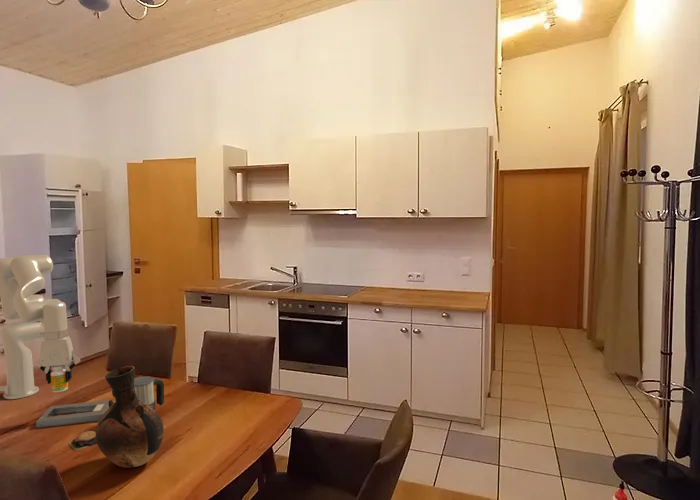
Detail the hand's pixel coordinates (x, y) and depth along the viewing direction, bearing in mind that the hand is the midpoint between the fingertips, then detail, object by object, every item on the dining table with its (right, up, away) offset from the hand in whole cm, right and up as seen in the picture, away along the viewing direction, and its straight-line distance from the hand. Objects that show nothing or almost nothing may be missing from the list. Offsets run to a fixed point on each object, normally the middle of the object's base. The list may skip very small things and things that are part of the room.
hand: (59, 381), depth 174 cm
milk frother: (+29, -14, +3) cm, 33 cm away
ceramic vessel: (+43, -17, -31) cm, 55 cm away
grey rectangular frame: (+5, -14, +2) cm, 15 cm away
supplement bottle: (0, -4, 0) cm, 4 cm away
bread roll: (+21, -16, -17) cm, 32 cm away
